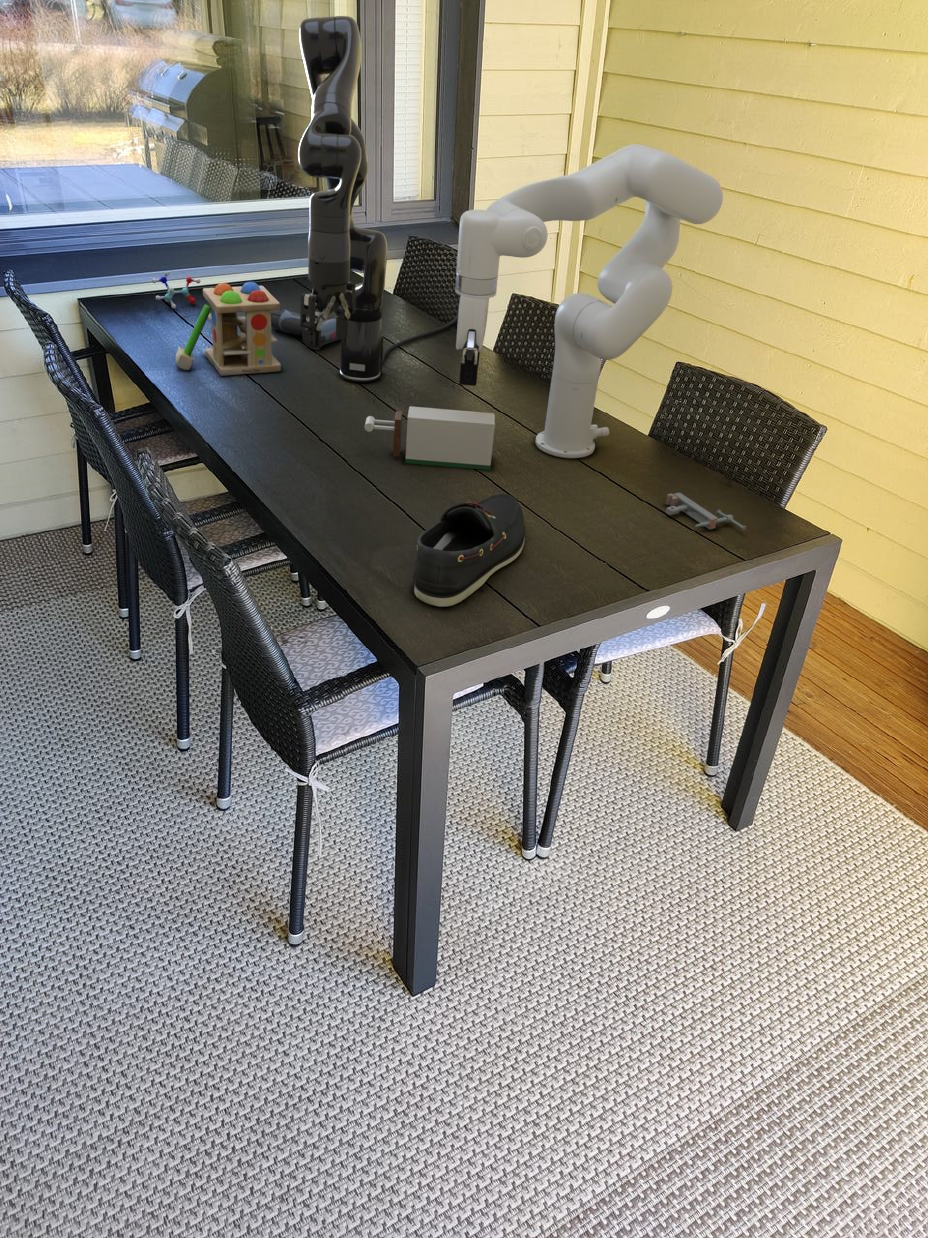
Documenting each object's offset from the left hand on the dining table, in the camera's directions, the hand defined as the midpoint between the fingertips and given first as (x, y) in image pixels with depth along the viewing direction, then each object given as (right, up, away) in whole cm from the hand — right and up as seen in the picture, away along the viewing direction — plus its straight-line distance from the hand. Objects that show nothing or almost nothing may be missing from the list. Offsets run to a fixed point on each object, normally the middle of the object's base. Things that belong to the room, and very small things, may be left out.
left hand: (328, 343), depth 186 cm
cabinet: (+22, -20, +12) cm, 33 cm away
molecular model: (-52, +33, +78) cm, 100 cm away
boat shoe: (+27, -42, -20) cm, 54 cm away
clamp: (+70, -34, -1) cm, 78 cm away
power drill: (-14, +21, +68) cm, 72 cm away
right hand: (+27, -6, +1) cm, 27 cm away
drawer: (+17, -19, +11) cm, 28 cm away
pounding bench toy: (-30, +7, +45) cm, 54 cm away
